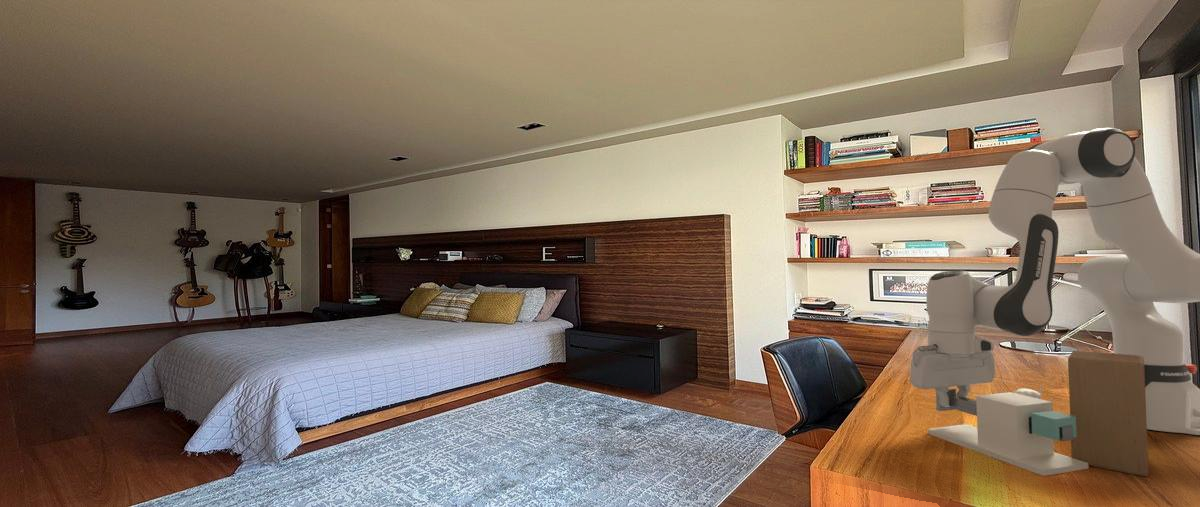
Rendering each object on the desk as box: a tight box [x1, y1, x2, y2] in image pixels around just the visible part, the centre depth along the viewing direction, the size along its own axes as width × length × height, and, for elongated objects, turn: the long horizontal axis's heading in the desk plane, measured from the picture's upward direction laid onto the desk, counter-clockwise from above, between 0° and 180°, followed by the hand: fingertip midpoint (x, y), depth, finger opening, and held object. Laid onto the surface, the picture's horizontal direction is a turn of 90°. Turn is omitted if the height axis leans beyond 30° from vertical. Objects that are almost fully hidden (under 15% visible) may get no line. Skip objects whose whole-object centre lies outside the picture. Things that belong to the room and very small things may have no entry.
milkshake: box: [1014, 384, 1044, 399], centre depth 116 cm, size 5×5×10 cm
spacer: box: [1031, 410, 1077, 441], centre depth 95 cm, size 5×4×4 cm
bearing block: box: [927, 391, 1089, 477], centre depth 105 cm, size 11×24×11 cm, turn 14°
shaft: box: [935, 387, 1073, 442], centre depth 105 cm, size 5×25×5 cm, turn 14°
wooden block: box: [1067, 350, 1150, 477], centre depth 98 cm, size 10×10×20 cm
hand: (953, 405), depth 115 cm, fingers closed on shaft, 2 cm apart
